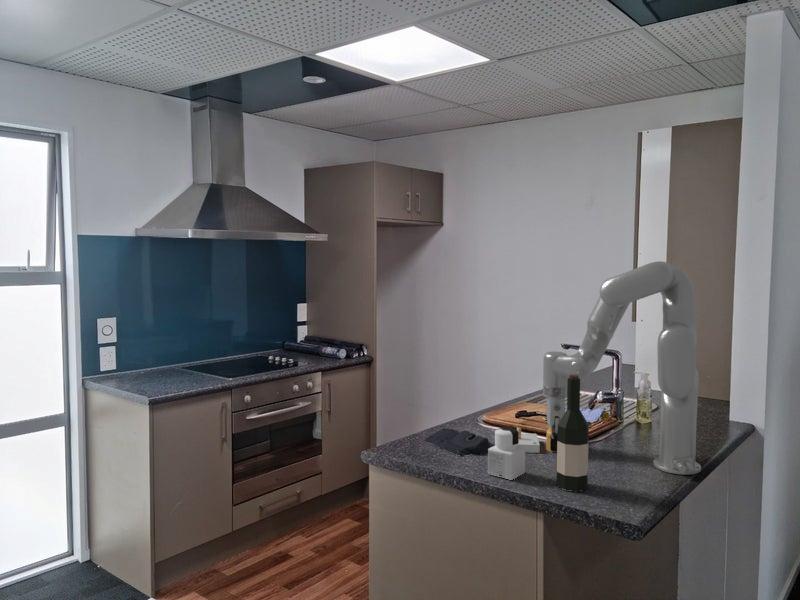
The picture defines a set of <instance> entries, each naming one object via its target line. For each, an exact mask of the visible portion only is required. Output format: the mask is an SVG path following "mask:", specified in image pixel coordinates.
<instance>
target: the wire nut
mask: <svg viewBox="0 0 800 600" xmlns="http://www.w3.org/2000/svg"><path fill="white" fill-rule="evenodd" d="M553 428H554V429H555V427H553ZM554 432H555V430H553V433H554ZM545 437H546V439H545V444H546V445H545V448H546V450H547V451H548V452H552V453H557V451H551V450H550V438H551V429H550V428H549V427H548V429H546V435H545Z"/></svg>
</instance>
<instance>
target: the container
mask: <svg viewBox="0 0 800 600" xmlns="http://www.w3.org/2000/svg"><path fill="white" fill-rule="evenodd" d="M494 445H495V446H493V447H491V448H489V449H488V452H487V475H488V474H491V475H494V476H498V477H502V478H505V479H509V480H513V479H514V480H516V479H517V477H518V476H520V475H521V476H523V475H525V474H524V473H526V452H525V447H521V446H518V445H519V432H518V431H517V429H516V428H513V427H500V428H497V429H496V430H495V431H494ZM522 474H523V475H522ZM521 476H520V477H521ZM515 478H516V479H515ZM518 478H519V477H518ZM505 479H504V480H505ZM509 480H508V481H509ZM514 480H513V481H514Z"/></svg>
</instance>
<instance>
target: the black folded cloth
mask: <svg viewBox="0 0 800 600" xmlns="http://www.w3.org/2000/svg"><path fill="white" fill-rule="evenodd" d="M424 441H426V442H430V443H433V444H434V445H436V446H438V447H440V448H443V449H445V450H447V451H450V452H452V453H454V454H453V455H455V454H457V455H460V456H459V457H463V456H462V455H470V454H475V455H480V454H479V453H482V454H484V453H483V452H485V453H488V452H487V451H488V449H489V448H491V447H493V446H495V444H493V443H492V442H490V441H489V439H488V437H484V436H481V435H476V434H475V433H472V432H470V431H468V430H462V431H458V430H456V429H452V428H440V430H438V431H435V433H433V434H431V435H429V436H427V437H426V438H424V440H423V442H424ZM426 442H425V443H426ZM436 446H435V447H436ZM438 447H437V448H438ZM440 448H439V449H440ZM443 449H442V450H443ZM445 450H444V451H445ZM447 451H446V452H447ZM450 452H449V453H450ZM452 453H451V454H452ZM457 455H456V456H457Z"/></svg>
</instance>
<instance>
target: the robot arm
mask: <svg viewBox="0 0 800 600" xmlns="http://www.w3.org/2000/svg"><path fill="white" fill-rule="evenodd" d="M659 293H660V294H661V297H662V330H661V331H660V333H659V335H658V337H657V344H656V345H657V349H656V350H657V352H656V353H657V382H658V386H659V389H660V390H661V393H660V397H661V398H660V413H659V414H660V419H659V451H658V452H659V453H658V454H659V455H658V457H656V458H654V459H653V466H654V467H655V468H656V469H658V470H659V471H662V472H665V473H669V474H675V475H686V476H688V475H689V476H690V475H696V474H698V473H700V472H701V471H702V465H701V464H700V463H698V462H697V461H696V450H697V449H696V448H697V446H696V444H697V417H698V401H699V400H698V398H699V383H700V380H699V379H700V377H699V372H698V371H699V370H698V369H697V367H696V366H697V365H696V363H697V360H696V357H697V356H696V352H697V351H696V348H697V343H698V335H697V326H696V325H697V322H696V321H697V320H696V319H697V318H696V316H697V315H696V295H695V290H694V287H693V283H692V281H691V280H690V277H688V275H687V274H686V272H684V271H683V270H682V269H681V268H679V267H677V266H676V265H673V264H671V263H669V262H667V261H654V262H649V263H647V264H644V265H642V266H639V267H636V268H634V269H631V270H629V271H626V272H623V273H621V274H620V273H619V274H618V275H614V276H611V277H609V278H607V279H606V280H604V281H603V282H602V283H601V286H600V287H599V298H598V299H597V300H596V302H595V305H594V307H593V309H592V310H591V312H590V314H589V316H588V319H587V322H586V325H587V327H586V328H587V329H586V334H585V335H584V337H583V340H582V342H581V344H580V346H579V348H578V350H577V351H576V353H574V354H571V355H568V354H567V353H566V352H564V351H563V352H562V351H547V352H545V353H544V355H543V365H542V366H543V370H542V371H543V372H542V373H543V374H542V375H543V376H542V377H543V378H542V380H543V381H542V383H543V384H542V385H543V386H542V396H543V397H545V398H546V422H547V426H548V429H549V428H550V429H551V438H550V450H551V451H557V430H558V423H559V421H560V420H561V418H562V417H563V415H564V413H565V412H566V399H567V379H568V378H569V375H579V378H580V380H584V379H586V378H588V377H589V376H590V375H591V374H592V373H593V372H594V371H595V370H596V369H597V368H598V365H599V364H600V362H601V360H602V358H603V356H604V354H605V353H606V351H607V348H608V346H609V344H610V343H611V340H612V339H613V337H614V334H615V332H616V331H617V328H618V326H619V325H620V322H621V321H622V318H623V317H624V315H625V313H626V311H627V309H628V308H629V305H630V304H631V303H633V302H636V301H639V300H641V299H644V298H647V297H650V296H652V295H656V294H659ZM553 427H555V429H554V428H553ZM553 430H555V432H554V433H553ZM551 451H550V452H551Z"/></svg>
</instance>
